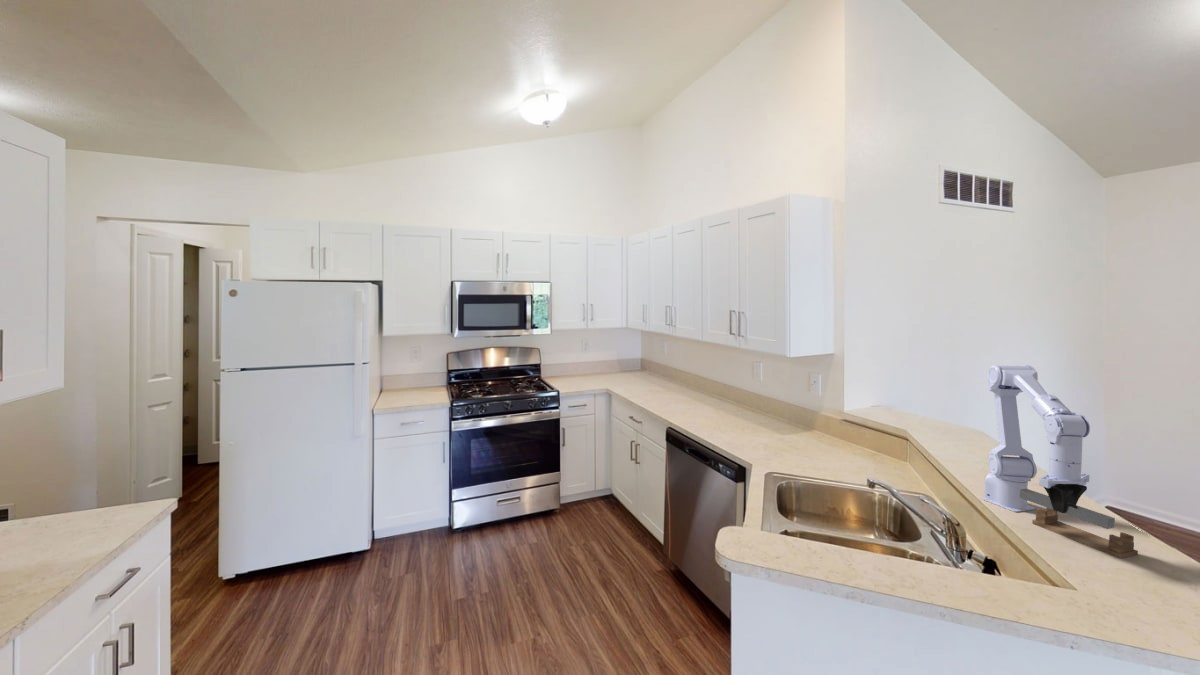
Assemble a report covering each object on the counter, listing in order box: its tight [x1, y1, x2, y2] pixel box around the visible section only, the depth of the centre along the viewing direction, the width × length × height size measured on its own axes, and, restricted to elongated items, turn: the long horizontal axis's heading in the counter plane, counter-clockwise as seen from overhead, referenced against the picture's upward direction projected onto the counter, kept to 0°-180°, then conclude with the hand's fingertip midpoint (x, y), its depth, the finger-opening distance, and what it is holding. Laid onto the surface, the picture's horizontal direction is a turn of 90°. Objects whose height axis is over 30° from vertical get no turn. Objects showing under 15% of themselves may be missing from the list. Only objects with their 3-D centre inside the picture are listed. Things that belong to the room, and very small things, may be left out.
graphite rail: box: [1020, 488, 1116, 530], centre depth 112 cm, size 18×2×2 cm, turn 13°
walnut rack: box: [1031, 507, 1139, 559], centre depth 114 cm, size 18×6×5 cm, turn 13°
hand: (1063, 510), depth 112 cm, fingers closed on graphite rail, 2 cm apart
